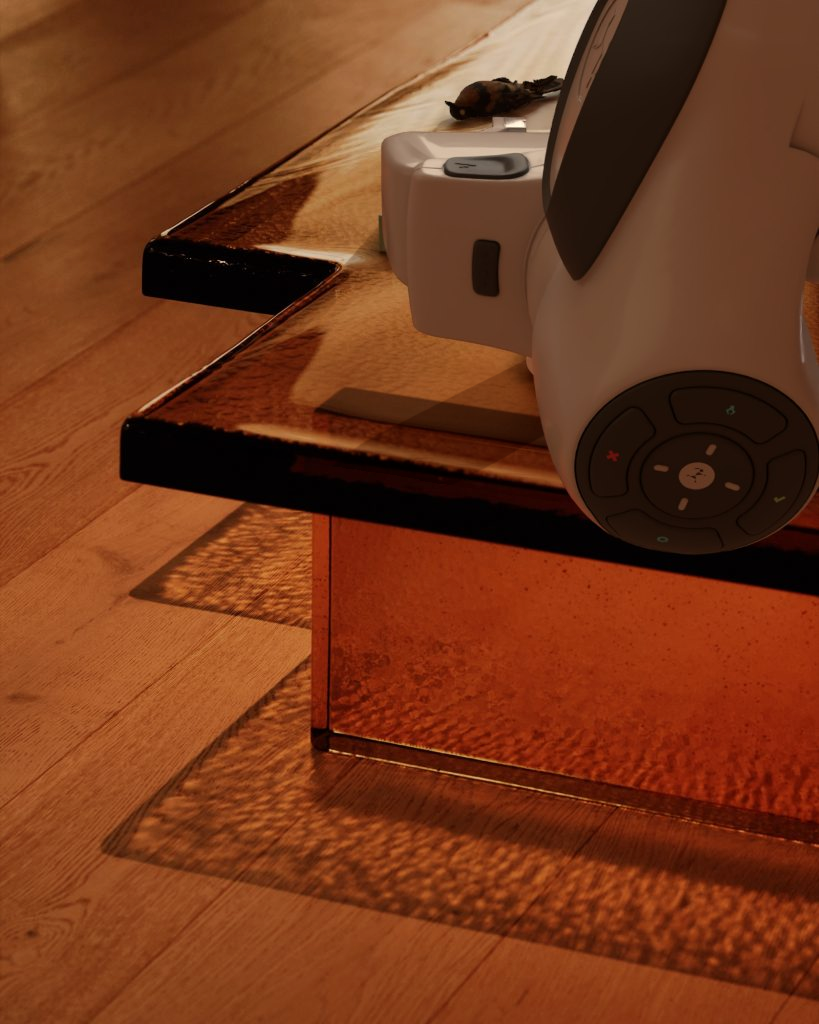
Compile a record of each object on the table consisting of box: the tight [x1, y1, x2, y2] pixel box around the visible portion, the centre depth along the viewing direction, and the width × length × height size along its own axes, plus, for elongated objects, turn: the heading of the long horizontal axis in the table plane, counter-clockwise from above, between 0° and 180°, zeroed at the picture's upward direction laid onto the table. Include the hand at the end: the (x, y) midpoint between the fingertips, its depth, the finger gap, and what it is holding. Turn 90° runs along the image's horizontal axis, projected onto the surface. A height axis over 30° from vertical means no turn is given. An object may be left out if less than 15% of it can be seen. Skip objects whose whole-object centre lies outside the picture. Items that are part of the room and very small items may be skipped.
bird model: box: [444, 74, 564, 121], centre depth 129 cm, size 3×14×3 cm, turn 125°
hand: (615, 134), depth 71 cm, fingers open, 8 cm apart
